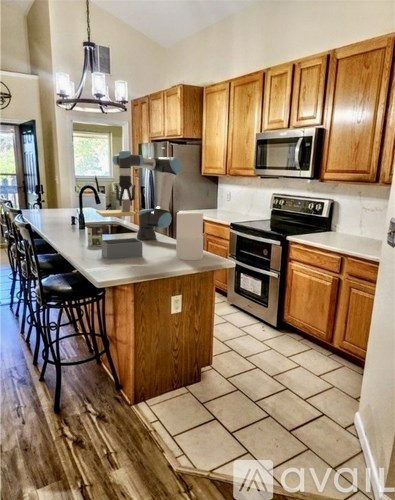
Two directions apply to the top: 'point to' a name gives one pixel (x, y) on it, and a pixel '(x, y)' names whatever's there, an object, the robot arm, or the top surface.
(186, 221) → the cylinder
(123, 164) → the robot arm
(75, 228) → the top surface
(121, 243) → the tub
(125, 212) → the lid
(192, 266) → the top surface
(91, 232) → the coffee can
